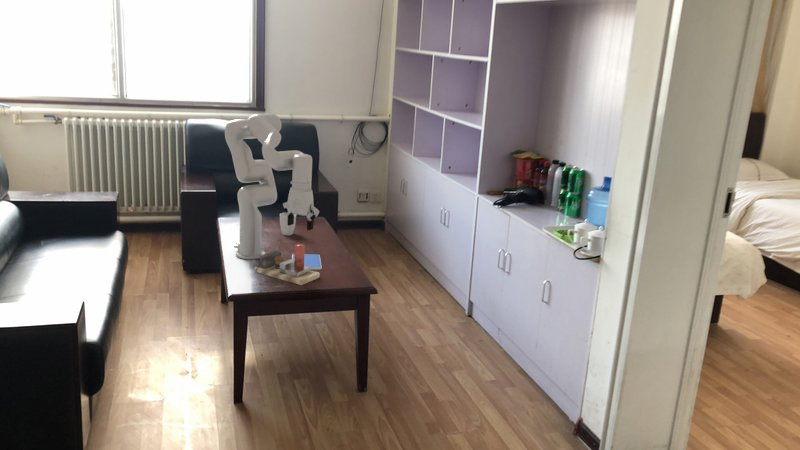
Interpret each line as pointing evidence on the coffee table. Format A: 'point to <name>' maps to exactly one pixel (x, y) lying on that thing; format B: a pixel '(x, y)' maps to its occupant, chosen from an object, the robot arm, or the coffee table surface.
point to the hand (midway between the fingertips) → (300, 227)
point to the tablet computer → (312, 261)
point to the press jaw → (295, 263)
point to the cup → (285, 227)
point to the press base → (272, 268)
